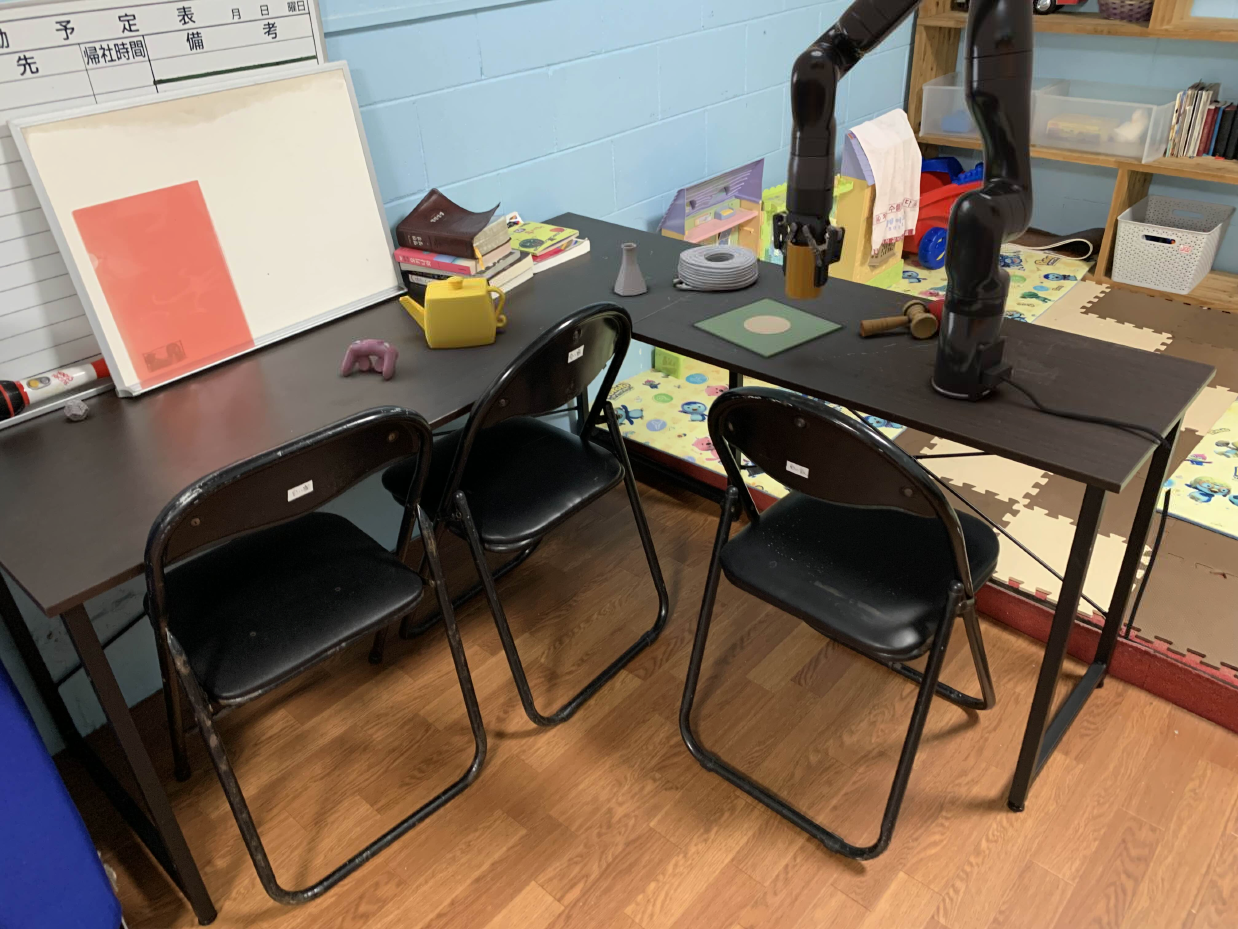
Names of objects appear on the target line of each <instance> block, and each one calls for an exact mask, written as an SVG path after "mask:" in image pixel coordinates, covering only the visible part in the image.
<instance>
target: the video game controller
mask: <svg viewBox="0 0 1238 929" xmlns="http://www.w3.org/2000/svg"><path fill="white" fill-rule="evenodd" d="M372 356H373V357H377V358H376V359H375V361H374V363H373V361H372V358H371V357H372ZM398 359H399V351H398V349H397V347H396V346H394V345H392V344H390V343H388V342H386V341H383V340H379V339H373V338H372V339H371V338H370V339H362V340H356V341H353V342H352V343H351V344H350V346H349V347H348V348H347V351H346V353H345V357H344V359H343V362H342V365H341V372H342V375H343V376H344V377H347V376H349V375H351V373H352V372H353V370H354V369H355V367H356V364H357V365H358V367H359V369H360V370H361V371H369V370H371V369H372V368H374V370H375V371H376V372H380V373H382V376H383V378H384V380H389V379H391V377H392V376H393V374H394V372H395V369H396V365H397V364H396V363H397V360H398Z"/></svg>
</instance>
